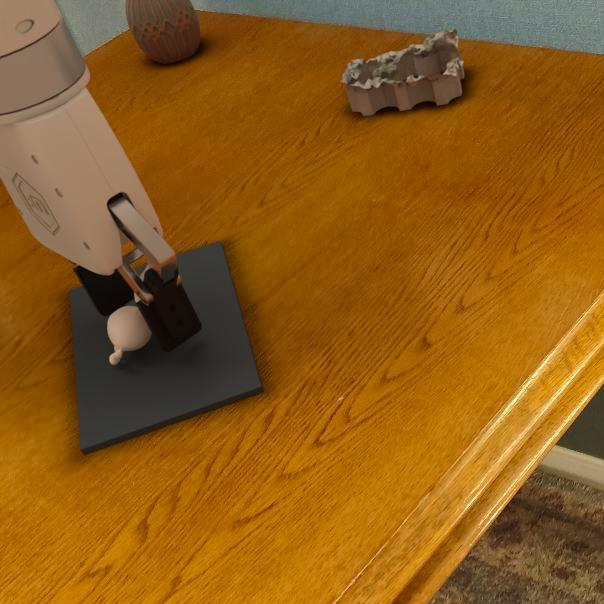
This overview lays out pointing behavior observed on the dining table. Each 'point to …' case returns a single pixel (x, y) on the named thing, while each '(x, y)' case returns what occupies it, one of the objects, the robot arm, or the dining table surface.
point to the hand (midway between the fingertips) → (150, 320)
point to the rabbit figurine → (127, 329)
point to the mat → (163, 360)
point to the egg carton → (407, 76)
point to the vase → (164, 28)
